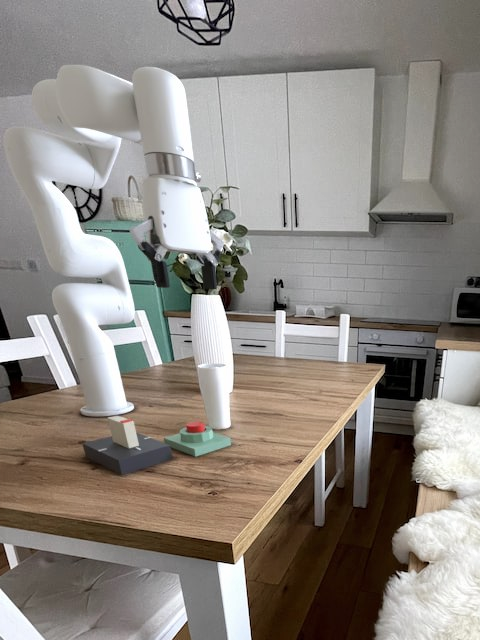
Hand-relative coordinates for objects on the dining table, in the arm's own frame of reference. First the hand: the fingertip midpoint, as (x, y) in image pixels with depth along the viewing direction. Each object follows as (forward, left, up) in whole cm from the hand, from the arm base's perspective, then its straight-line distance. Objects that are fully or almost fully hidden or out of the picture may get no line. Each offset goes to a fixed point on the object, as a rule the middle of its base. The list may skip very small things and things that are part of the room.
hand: (188, 288), depth 73 cm
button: (-3, -1, -28) cm, 28 cm away
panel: (-7, -14, -31) cm, 35 cm away
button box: (-3, -1, -31) cm, 31 cm away
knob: (-7, -14, -28) cm, 32 cm away
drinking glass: (-10, +10, -31) cm, 34 cm away
